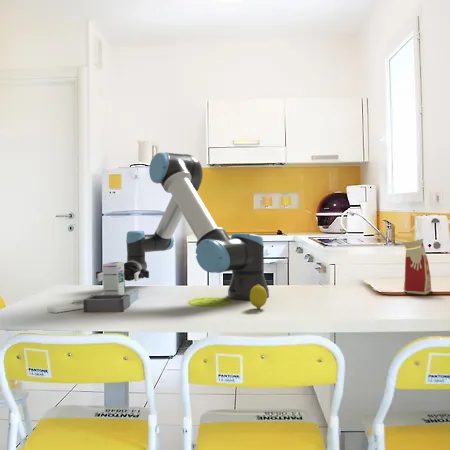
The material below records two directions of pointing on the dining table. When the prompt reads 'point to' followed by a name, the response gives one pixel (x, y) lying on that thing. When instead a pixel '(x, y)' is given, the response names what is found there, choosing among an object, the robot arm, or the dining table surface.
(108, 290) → the syrup box
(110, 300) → the trap bin
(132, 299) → the guide channel
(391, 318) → the dining table surface
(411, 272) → the red paper bag
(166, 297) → the dining table surface
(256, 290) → the lemon
